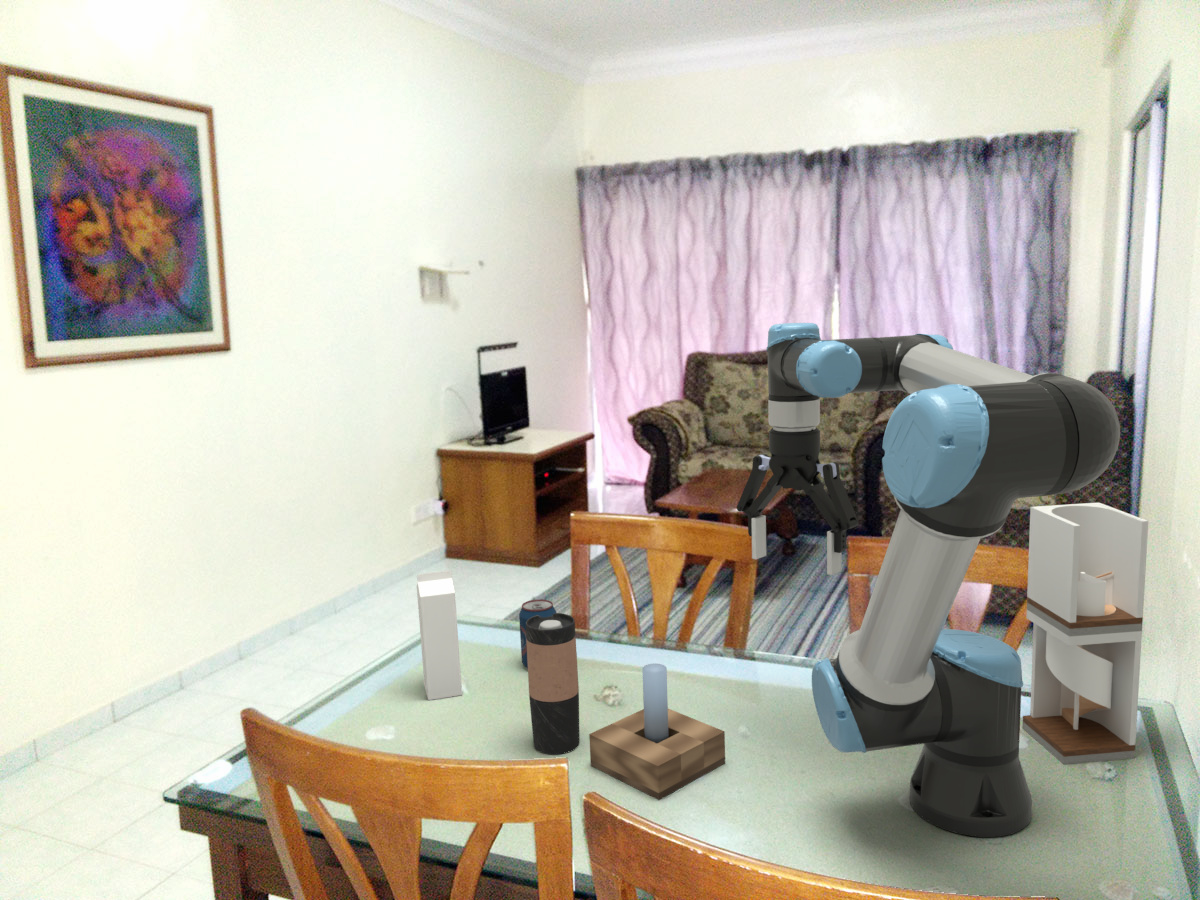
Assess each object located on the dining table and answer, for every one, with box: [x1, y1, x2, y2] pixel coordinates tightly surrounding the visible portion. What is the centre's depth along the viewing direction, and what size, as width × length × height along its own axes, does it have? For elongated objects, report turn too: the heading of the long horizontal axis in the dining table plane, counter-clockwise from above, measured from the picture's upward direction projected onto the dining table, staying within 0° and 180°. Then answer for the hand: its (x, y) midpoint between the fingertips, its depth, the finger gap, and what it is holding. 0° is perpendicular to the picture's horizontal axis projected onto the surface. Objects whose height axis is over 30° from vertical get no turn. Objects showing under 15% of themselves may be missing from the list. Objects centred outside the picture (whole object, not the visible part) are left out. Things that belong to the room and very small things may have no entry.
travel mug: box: [526, 612, 580, 755], centre depth 150 cm, size 8×8×20 cm
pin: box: [641, 663, 669, 743], centre depth 142 cm, size 4×4×14 cm
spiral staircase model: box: [1021, 502, 1149, 765], centre depth 142 cm, size 11×11×35 cm
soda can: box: [518, 599, 557, 670], centre depth 181 cm, size 7×7×12 cm
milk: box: [416, 569, 463, 701], centre depth 171 cm, size 6×6×22 cm
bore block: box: [588, 708, 726, 801], centre depth 143 cm, size 14×14×5 cm
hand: (795, 564), depth 149 cm, fingers open, 13 cm apart
